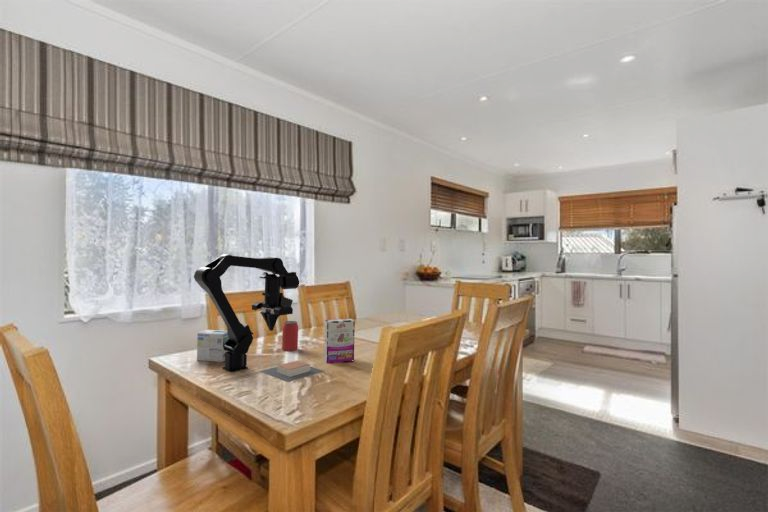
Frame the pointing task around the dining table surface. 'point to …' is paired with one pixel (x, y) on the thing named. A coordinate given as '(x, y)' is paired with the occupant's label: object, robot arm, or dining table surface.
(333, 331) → the candy bar box
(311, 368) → the mat
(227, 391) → the dining table surface
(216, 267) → the robot arm
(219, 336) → the light bulb box
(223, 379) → the dining table surface
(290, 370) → the deck
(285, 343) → the beer can
